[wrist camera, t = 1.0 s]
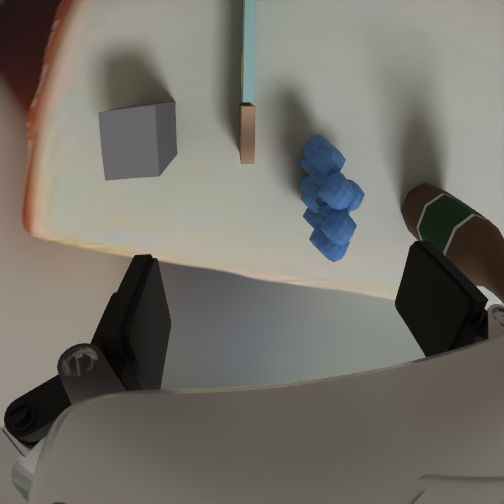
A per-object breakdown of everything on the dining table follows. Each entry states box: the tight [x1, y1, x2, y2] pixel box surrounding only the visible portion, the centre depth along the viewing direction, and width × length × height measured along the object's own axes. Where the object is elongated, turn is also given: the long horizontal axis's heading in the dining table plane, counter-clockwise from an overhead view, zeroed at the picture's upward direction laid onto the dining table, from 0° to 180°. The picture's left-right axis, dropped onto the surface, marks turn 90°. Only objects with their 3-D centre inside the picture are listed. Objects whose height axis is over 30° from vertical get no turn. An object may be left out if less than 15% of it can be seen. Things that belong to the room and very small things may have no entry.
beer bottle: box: [402, 183, 504, 303], centre depth 26 cm, size 8×8×24 cm
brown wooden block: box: [240, 104, 255, 164], centre depth 23 cm, size 25×1×6 cm, turn 179°
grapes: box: [299, 136, 364, 262], centre depth 29 cm, size 12×7×12 cm, turn 5°
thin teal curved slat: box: [241, 0, 256, 102], centre depth 23 cm, size 13×1×5 cm, turn 179°
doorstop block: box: [99, 102, 177, 180], centre depth 26 cm, size 6×5×9 cm
